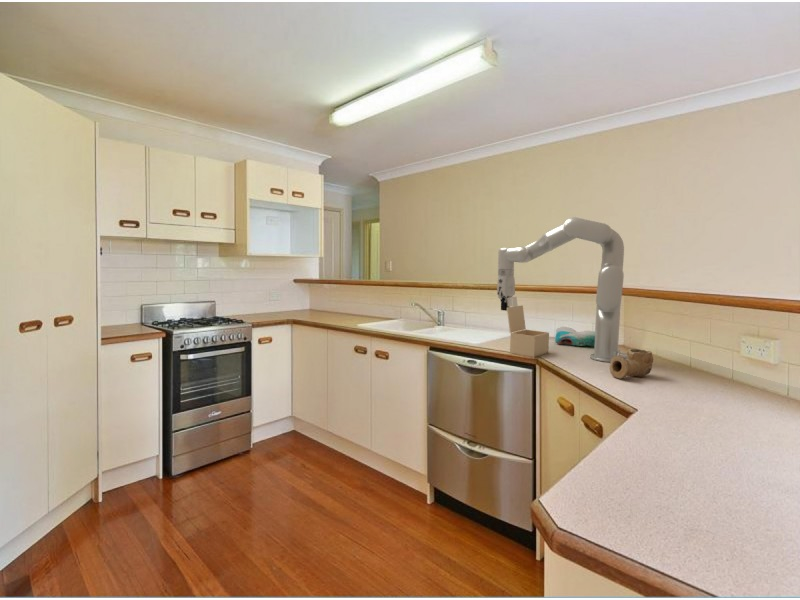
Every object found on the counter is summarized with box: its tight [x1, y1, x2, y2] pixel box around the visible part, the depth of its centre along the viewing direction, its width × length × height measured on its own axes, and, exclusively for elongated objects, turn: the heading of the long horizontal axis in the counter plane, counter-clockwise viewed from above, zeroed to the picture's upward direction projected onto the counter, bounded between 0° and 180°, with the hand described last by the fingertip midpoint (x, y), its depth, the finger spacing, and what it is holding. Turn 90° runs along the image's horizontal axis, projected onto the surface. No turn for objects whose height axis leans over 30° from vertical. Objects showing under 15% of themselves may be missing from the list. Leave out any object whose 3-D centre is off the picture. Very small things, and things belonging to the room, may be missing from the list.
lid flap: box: [506, 296, 527, 334], centre depth 201 cm, size 17×15×6 cm
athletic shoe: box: [554, 326, 595, 348], centre depth 212 cm, size 26×9×12 cm
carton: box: [509, 329, 550, 358], centre depth 195 cm, size 12×15×10 cm
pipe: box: [609, 348, 654, 380], centre depth 155 cm, size 9×16×10 cm, turn 111°
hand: (505, 309), depth 203 cm, fingers closed on lid flap
